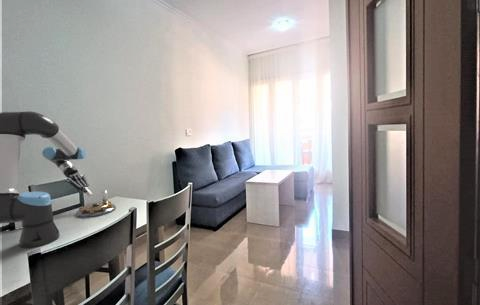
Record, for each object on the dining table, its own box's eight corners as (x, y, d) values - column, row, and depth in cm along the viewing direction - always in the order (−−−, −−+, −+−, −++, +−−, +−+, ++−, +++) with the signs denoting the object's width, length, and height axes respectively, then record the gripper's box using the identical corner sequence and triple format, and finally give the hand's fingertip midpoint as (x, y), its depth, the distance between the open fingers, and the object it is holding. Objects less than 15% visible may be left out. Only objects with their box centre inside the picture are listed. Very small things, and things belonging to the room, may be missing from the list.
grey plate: (95, 218, 148) (95, 216, 148) (67, 216, 154) (67, 213, 154) (123, 206, 169) (123, 204, 169) (97, 205, 175) (97, 202, 175)
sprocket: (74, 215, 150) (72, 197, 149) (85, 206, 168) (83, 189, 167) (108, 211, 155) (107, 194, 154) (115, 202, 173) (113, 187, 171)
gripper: (75, 171, 177) (96, 196, 174) (56, 175, 164) (79, 202, 161) (80, 164, 175) (101, 189, 171) (61, 167, 162) (84, 194, 159)
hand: (90, 195), depth 166 cm, fingers closed
